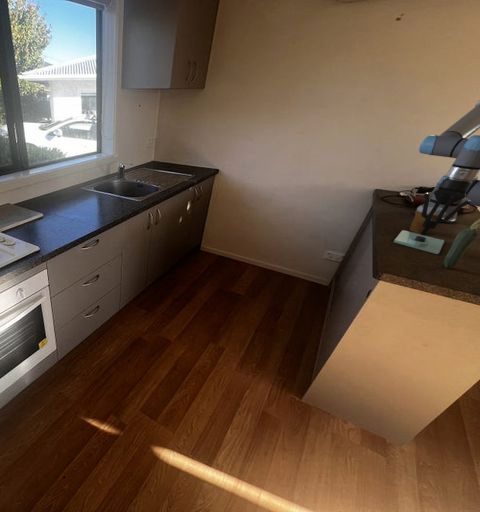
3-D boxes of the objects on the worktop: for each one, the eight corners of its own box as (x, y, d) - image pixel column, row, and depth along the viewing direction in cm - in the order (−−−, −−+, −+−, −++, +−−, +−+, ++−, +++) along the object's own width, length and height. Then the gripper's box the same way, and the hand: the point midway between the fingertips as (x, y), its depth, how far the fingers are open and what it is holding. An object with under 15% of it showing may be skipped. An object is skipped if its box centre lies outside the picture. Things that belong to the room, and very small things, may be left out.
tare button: (414, 238, 126) (417, 235, 125) (424, 241, 124) (426, 237, 123) (413, 240, 124) (416, 237, 123) (423, 243, 122) (425, 239, 121)
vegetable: (449, 271, 108) (486, 221, 98) (434, 265, 111) (468, 217, 101) (455, 269, 109) (491, 220, 99) (439, 263, 113) (473, 215, 103)
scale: (401, 232, 139) (404, 226, 137) (442, 242, 129) (447, 236, 128) (393, 242, 128) (396, 236, 127) (437, 254, 119) (442, 248, 118)
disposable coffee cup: (437, 236, 135) (453, 212, 129) (414, 234, 136) (428, 210, 130) (422, 228, 143) (436, 205, 137) (399, 226, 144) (413, 203, 139)
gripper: (433, 176, 113) (400, 231, 125) (484, 184, 104) (444, 242, 116) (436, 174, 117) (404, 227, 129) (485, 181, 109) (446, 237, 120)
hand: (423, 234), depth 122 cm, fingers closed
